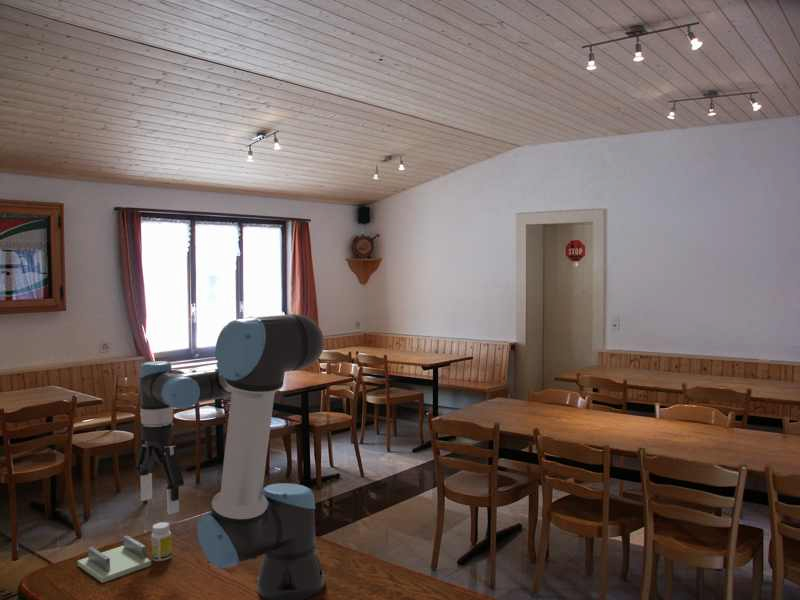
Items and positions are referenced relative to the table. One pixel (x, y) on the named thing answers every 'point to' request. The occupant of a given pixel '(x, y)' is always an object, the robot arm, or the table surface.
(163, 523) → the supplement bottle
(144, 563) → the board
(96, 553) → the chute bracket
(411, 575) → the table surface
